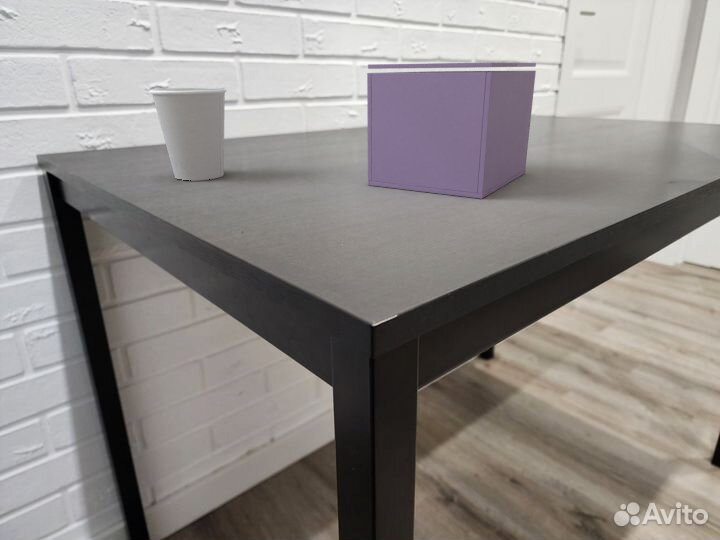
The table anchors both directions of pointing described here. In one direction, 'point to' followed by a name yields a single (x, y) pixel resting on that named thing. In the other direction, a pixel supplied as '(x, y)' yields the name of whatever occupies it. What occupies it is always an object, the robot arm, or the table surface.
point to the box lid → (524, 65)
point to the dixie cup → (193, 130)
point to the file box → (448, 128)
